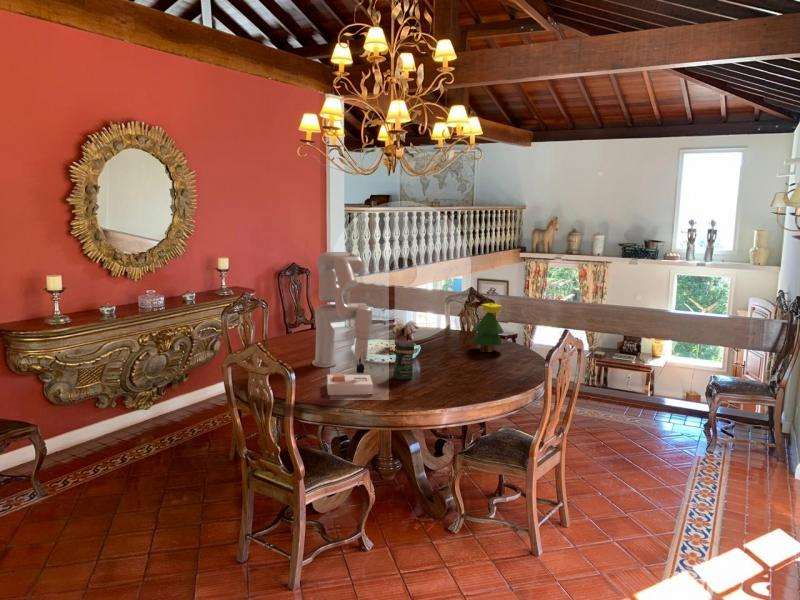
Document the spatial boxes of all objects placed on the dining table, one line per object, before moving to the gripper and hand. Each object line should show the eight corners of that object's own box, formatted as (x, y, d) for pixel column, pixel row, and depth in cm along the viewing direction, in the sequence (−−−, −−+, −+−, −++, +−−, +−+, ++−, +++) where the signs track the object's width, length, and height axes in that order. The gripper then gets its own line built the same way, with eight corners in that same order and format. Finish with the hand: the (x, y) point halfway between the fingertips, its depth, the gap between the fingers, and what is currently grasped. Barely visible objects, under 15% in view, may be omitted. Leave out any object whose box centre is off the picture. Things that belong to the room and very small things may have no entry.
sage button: (354, 385, 276) (354, 378, 275) (365, 385, 277) (365, 378, 276) (355, 389, 271) (355, 382, 270) (366, 389, 272) (366, 382, 271)
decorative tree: (463, 349, 356) (467, 300, 351) (486, 345, 368) (490, 298, 362) (486, 357, 341) (490, 306, 336) (509, 353, 353) (514, 304, 347)
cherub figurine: (420, 346, 358) (422, 317, 355) (418, 354, 340) (420, 323, 337) (391, 343, 360) (393, 315, 357) (387, 351, 342) (389, 321, 339)
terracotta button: (332, 380, 274) (333, 373, 273) (343, 380, 275) (344, 373, 274) (333, 384, 269) (333, 376, 268) (344, 384, 270) (344, 376, 269)
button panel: (326, 384, 278) (327, 374, 278) (369, 384, 282) (369, 374, 281) (328, 395, 265) (328, 384, 264) (372, 395, 268) (373, 384, 267)
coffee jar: (395, 380, 290) (397, 343, 287) (391, 375, 298) (393, 339, 294) (414, 380, 293) (416, 343, 290) (409, 375, 301) (412, 339, 297)
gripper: (352, 329, 276) (350, 367, 280) (355, 338, 262) (353, 377, 266) (369, 329, 277) (366, 367, 281) (372, 338, 263) (370, 378, 267)
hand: (360, 372), depth 273 cm, fingers closed
